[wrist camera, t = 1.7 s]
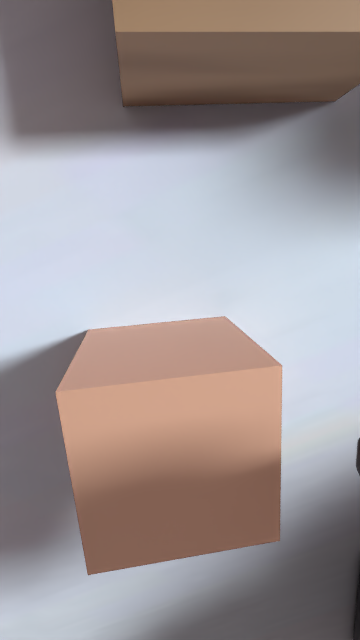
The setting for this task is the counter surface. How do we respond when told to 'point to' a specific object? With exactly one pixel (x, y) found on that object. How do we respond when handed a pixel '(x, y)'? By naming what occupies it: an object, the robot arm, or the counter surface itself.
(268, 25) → the brown box
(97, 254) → the counter surface
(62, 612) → the counter surface
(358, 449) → the robot arm
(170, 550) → the cube
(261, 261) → the counter surface
